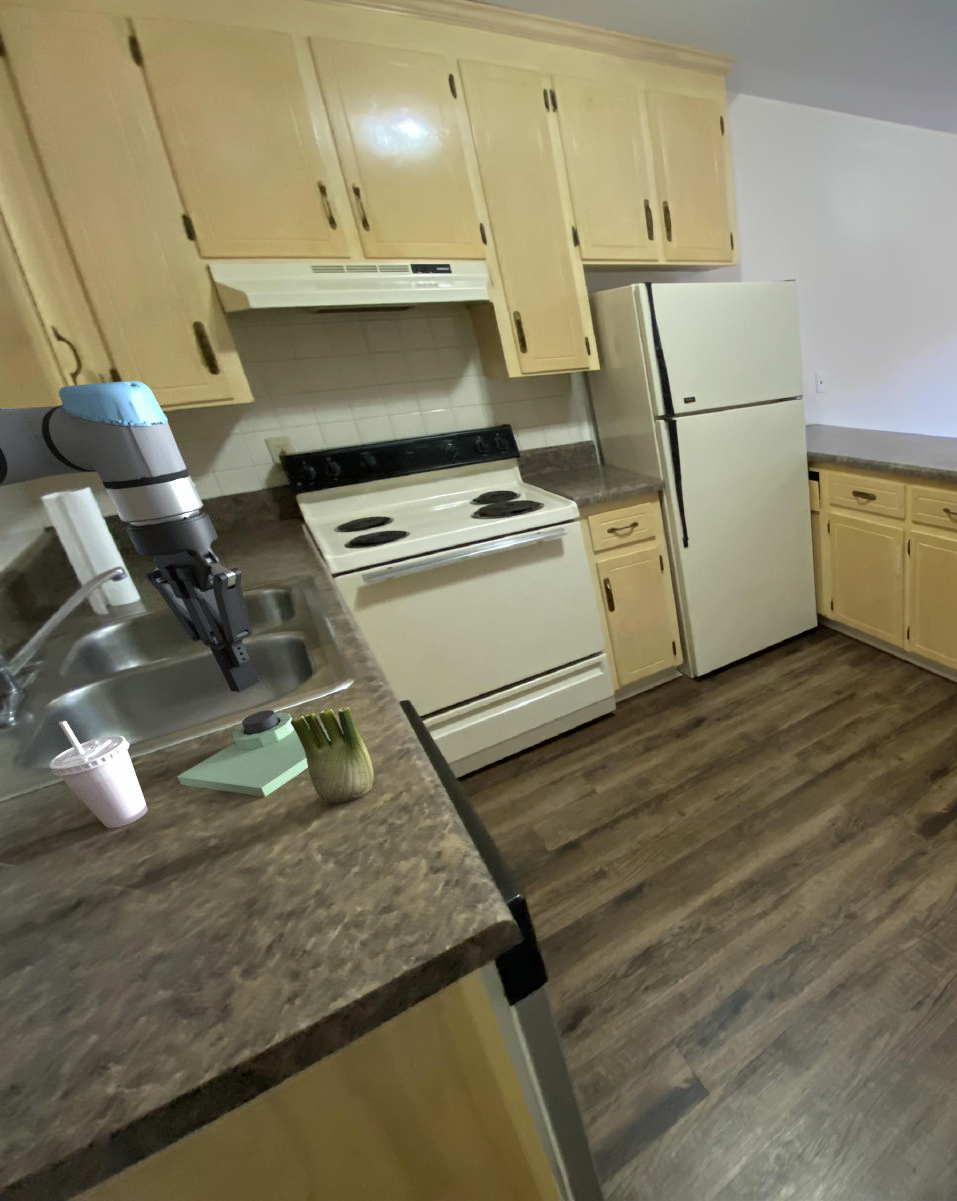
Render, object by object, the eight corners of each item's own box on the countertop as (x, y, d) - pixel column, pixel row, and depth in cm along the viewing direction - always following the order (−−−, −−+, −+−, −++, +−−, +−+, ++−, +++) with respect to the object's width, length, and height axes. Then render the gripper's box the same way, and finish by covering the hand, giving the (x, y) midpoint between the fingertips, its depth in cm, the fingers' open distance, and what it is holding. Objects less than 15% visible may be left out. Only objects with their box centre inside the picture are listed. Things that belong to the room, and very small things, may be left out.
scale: (179, 785, 84) (169, 766, 82) (274, 728, 95) (266, 711, 94) (265, 797, 80) (255, 777, 79) (353, 737, 92) (345, 719, 90)
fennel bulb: (386, 783, 81) (354, 700, 77) (358, 810, 77) (322, 724, 72) (343, 782, 82) (309, 701, 77) (313, 809, 77) (275, 724, 73)
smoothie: (76, 833, 76) (11, 733, 71) (138, 797, 82) (83, 701, 76) (115, 840, 75) (52, 738, 69) (176, 802, 80) (122, 705, 75)
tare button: (240, 734, 89) (234, 723, 88) (265, 719, 92) (260, 709, 92) (260, 736, 88) (255, 725, 88) (285, 721, 91) (280, 711, 91)
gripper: (238, 507, 80) (308, 675, 89) (160, 508, 83) (237, 669, 93) (171, 526, 73) (255, 704, 83) (90, 526, 77) (179, 698, 86)
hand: (245, 686), depth 88 cm, fingers closed
